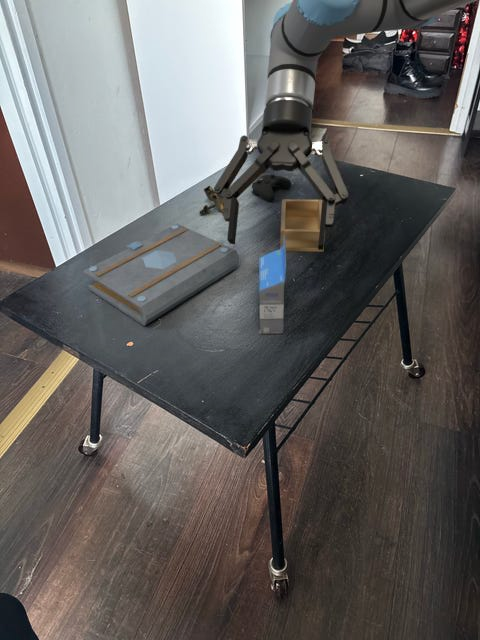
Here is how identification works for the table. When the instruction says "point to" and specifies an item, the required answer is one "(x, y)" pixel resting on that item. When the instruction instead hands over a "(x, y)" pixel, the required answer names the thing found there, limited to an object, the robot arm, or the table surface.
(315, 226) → the tray
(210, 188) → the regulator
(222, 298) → the table surface
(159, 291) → the book
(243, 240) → the table surface
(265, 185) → the game controller
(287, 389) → the table surface
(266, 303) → the blue cardboard box
